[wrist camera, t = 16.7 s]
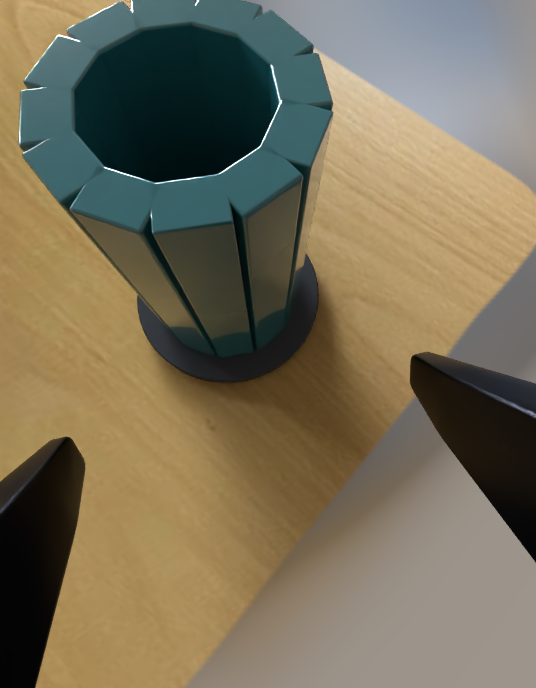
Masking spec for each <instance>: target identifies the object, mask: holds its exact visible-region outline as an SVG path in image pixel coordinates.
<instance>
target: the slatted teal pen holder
mask: <svg viewBox="0 0 536 688" xmlns="http://www.w3.org/2000/svg"><path fill="white" fill-rule="evenodd" d="M130 1H131V9H130V8H129V7H128V6H126V5H125V4H124V3H123V2H122V1H119V2H117V3H115V4H113V5H111V6H109V7H107V8H105V9H103V10H101V11H100V12H98V13H96V14H94V15H92V16H90V17H88V18H86V19H84V20H82V21H80V22H78V23H76V24H75V25H73V26H71V27H69V28H67V34H68V36H69V37H65V36H61V35H57V37H56V38H55V39H54V41H53V42H52V43H51V45H50V46H49V47H48V49H47V50H46V51H45V53H44V54H43V55H42V57H41V58H40V59H39V61H38V62H37V63H36V65H35V66H34V67H33V69H32V70H31V71H30V73H29V74H28V75H27V77H26V78H25V79H24V81H23V82H24V84H25V86H26V87H27V89H25V90H22V91H21V92H20V115H19V146H20V148H21V149H22V150H23V151H24V153H23V154H22V156H23V159H24V160H25V161H26V162H27V164H28V165H29V166H30V168H31V169H32V170H33V171H34V173H35V174H36V175H37V176H38V178H39V179H40V180H41V181H42V183H43V184H44V185H45V187H46V188H47V189H48V190H49V192H50V193H51V194H52V195H53V197H54V198H55V199H56V201H57V202H58V203H59V204H60V205H61V207H62V208H63V209H64V210H65V211H66V212H67V213H68V215H69V216H70V217H71V218H72V219H73V220H74V222H75V223H76V224H77V225H78V226H79V227H80V228H81V230H82V231H83V232H84V233H85V234H86V235H87V237H88V238H89V239H90V240H91V241H92V242H93V243H94V245H95V246H96V247H97V248H98V249H99V250H100V252H101V253H102V254H103V255H104V256H105V257H106V258H107V260H108V261H109V262H110V263H111V264H112V265H113V267H114V268H115V269H116V270H117V271H118V272H119V273H120V275H121V276H122V277H123V278H124V279H125V280H126V281H127V283H128V284H129V285H130V286H131V287H132V288H133V290H134V291H135V292H136V293H137V294H138V295H139V296H140V298H141V299H142V300H143V301H144V302H145V303H146V305H147V306H148V307H149V308H150V309H151V310H152V311H153V313H154V314H155V315H156V316H157V317H158V318H159V320H160V321H161V322H162V323H163V324H164V325H165V326H166V328H167V329H168V330H169V331H170V332H171V333H172V335H173V336H174V337H175V338H176V339H177V340H178V341H179V343H183V345H184V346H185V347H187V348H190V349H193V350H196V351H199V352H201V353H204V354H207V355H210V356H212V357H216V355H217V353H218V355H219V356H220V358H224V357H230V356H236V355H242V354H248V353H253V352H254V350H253V345H254V346H255V347H256V349H260V348H262V347H263V346H264V345H265V344H267V343H268V342H269V341H270V340H272V339H273V338H274V337H275V336H277V335H278V334H279V333H280V332H282V331H283V327H284V326H287V323H288V321H289V318H290V315H291V313H292V310H293V307H294V305H295V302H296V299H297V295H298V290H299V285H300V280H301V275H302V270H303V265H304V260H305V255H306V250H307V245H308V240H309V234H310V229H311V224H312V219H313V214H314V209H315V204H316V199H317V194H318V189H319V184H320V179H321V174H322V169H323V164H324V159H325V154H326V149H327V144H328V139H329V134H330V129H331V124H332V119H333V112H332V107H333V101H332V98H331V94H330V91H329V87H328V84H327V81H326V77H325V74H324V70H323V67H322V64H321V60H320V57H319V54H317V53H313V48H314V46H313V44H312V43H311V42H310V41H308V40H307V39H306V38H305V37H304V36H302V35H301V34H300V33H299V32H297V31H296V30H295V29H294V28H293V27H292V26H290V25H289V24H288V23H287V22H285V21H284V20H283V19H282V18H281V17H279V16H278V15H277V14H276V13H275V12H273V11H272V10H269V11H267V12H265V13H264V14H263V13H262V6H261V5H258V4H254V3H250V2H246V1H242V0H197V1H196V0H130Z"/></svg>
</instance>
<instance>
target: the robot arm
mask: <svg viewBox="0 0 536 688" xmlns="http://www.w3.org/2000/svg"><path fill="white" fill-rule="evenodd" d="M410 384H411V387H412V389H413V391H414V393H415V395H416V396H417V398H418V399H419V401H420V403H421V404H422V406H423V408H424V410H425V411H426V413H427V415H428V416H429V418H430V420H431V421H432V423H433V425H434V426H435V428H436V430H437V431H438V433H439V434H440V436H441V437H442V439H443V440H444V441H445V443H446V444H447V445H448V447H449V448H450V449H451V451H452V452H453V453H454V455H455V456H456V457H457V459H458V460H459V461H460V463H461V464H462V465H463V467H464V468H465V469H466V470H467V472H468V473H469V475H470V476H471V477H472V478H473V480H474V481H475V483H476V484H477V485H478V486H479V488H480V489H481V490H482V492H483V493H484V494H485V496H486V497H487V498H488V500H489V501H490V502H491V504H492V505H493V506H494V508H495V509H496V510H497V511H498V513H499V514H500V516H501V517H502V518H503V520H504V521H505V522H506V524H507V525H508V526H509V528H510V529H511V530H512V532H513V533H514V534H515V536H516V537H517V538H518V539H519V541H520V542H521V543H522V545H523V546H524V547H525V549H526V550H527V551H528V553H529V554H530V555H531V557H532V558H533V559H534V561H535V562H536V384H535V383H532V382H528V381H525V380H521V379H518V378H514V377H511V376H508V375H505V374H501V373H498V372H494V371H491V370H487V369H484V368H481V367H477V366H474V365H471V364H467V363H464V362H461V361H457V360H454V359H451V358H447V357H444V356H441V355H437V354H434V353H430V352H423V353H419V354H415V355H413V356H412V358H411V365H410ZM84 474H85V461H84V458H83V457H82V455H81V453H80V452H79V450H78V448H77V447H76V445H75V443H74V441H73V440H72V439H71V438H70V437H62V438H58V439H54V440H51V441H49V442H48V443H47V444H45V445H44V446H43V447H42V448H41V449H39V450H38V451H37V452H36V453H35V454H33V455H32V456H31V457H30V458H28V459H27V460H26V461H25V462H24V463H22V464H21V465H20V466H19V467H18V468H16V469H15V470H14V471H13V472H11V473H10V474H9V475H8V476H7V477H5V478H4V479H3V480H2V481H0V688H35V687H36V683H37V679H38V675H39V671H40V667H41V663H42V660H43V656H44V652H45V648H46V644H47V640H48V636H49V632H50V629H51V625H52V621H53V617H54V613H55V609H56V605H57V601H58V598H59V594H60V590H61V586H62V582H63V578H64V574H65V570H66V567H67V563H68V559H69V555H70V551H71V547H72V543H73V539H74V535H75V531H76V527H77V521H78V516H79V509H80V502H81V495H82V488H83V481H84Z"/></svg>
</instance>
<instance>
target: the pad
mask: <svg viewBox="0 0 536 688" xmlns="http://www.w3.org/2000/svg"><path fill="white" fill-rule="evenodd" d="M318 296H319V294H318V283H317V278H316V274H315V271H314V268H313V265H312V263H311V261H310V259H309V257H308V256H307V254H306V255H305V260H304V265H303V270H302V275H301V280H300V285H299V290H298V295H297V299H296V302H295V305H294V307H293V310H292V313H291V315H290V318H289V321H288V323H287V326H284V327H283V331H282V332H280V333H279V334H278V335H277V336H275V337H274V338H273V339H272V340H270V341H269V342H268V343H267V344H265V345H264V346H263V347H262V348H260V349H256V347H255V346H254V345H253V350H254V352H253V353H248V354H242V355H236V356H230V357H224V358H220V356H219V355H218V353H217V355H216V357H212V356H210V355H207V354H204V353H201V352H199V351H196V350H193V349H190V348H187V347H185V346H184V345H183V343H179V341H178V340H177V339H176V338H175V337H174V336H173V335H172V333H171V332H170V331H169V330H168V329H167V328H166V326H165V325H164V324H163V323H162V322H161V321H160V320H159V318H158V317H157V316H156V315H155V314H154V313H153V311H152V310H151V309H150V308H149V307H148V306H147V305H146V303H145V302H144V301H143V300H142V299H141V298H140V296H139V295H138V296H137V304H138V313H139V318H140V322H141V325H142V328H143V331H144V333H145V335H146V336H147V338H148V340H149V342H150V343H151V345H152V346H153V347H154V349H155V350H156V351H157V352H158V353H159V354H160V355H161V356H162V357H163V358H164V359H165V360H166V361H167V362H169V363H170V364H171V365H173V366H174V367H175V368H177V369H178V370H180V371H182V372H184V373H186V374H188V375H190V376H193V377H195V378H198V379H202V380H206V381H211V382H220V383H231V382H241V381H247V380H250V379H254V378H257V377H260V376H262V375H265V374H267V373H269V372H271V371H273V370H275V369H276V368H278V367H280V366H281V365H282V364H284V363H285V362H286V361H287V360H289V359H290V358H291V357H292V356H293V355H294V354H295V353H296V352H297V351H298V349H299V348H300V347H301V345H302V344H303V343H304V341H305V340H306V338H307V336H308V334H309V332H310V330H311V327H312V325H313V322H314V319H315V316H316V312H317V307H318Z"/></svg>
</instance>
